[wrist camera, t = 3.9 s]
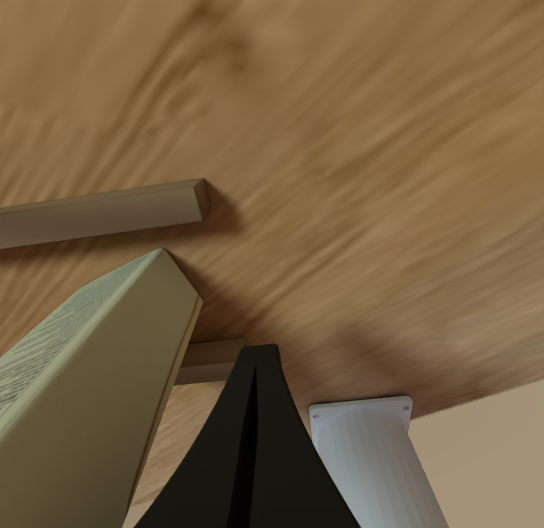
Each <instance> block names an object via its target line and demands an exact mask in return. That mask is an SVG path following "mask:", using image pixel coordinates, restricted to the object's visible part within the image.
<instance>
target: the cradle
mask: <svg viewBox="0 0 544 528" xmlns="http://www.w3.org/2000/svg"><path fill="white" fill-rule="evenodd" d="M210 208H211V207H210V203H209V199H208V195H207V191H206V187H205V183H204V179H203V178H200V179H193V180H187V181H180V182H173V183H166V184H160V185H153V186H146V187H139V188H133V189H126V190H119V191H112V192H106V193H99V194H92V195H85V196H79V197H72V198H65V199H59V200H52V201H45V202H38V203H32V204H25V205H18V206H11V207H5V208H0V249H3V248H11V247H18V246H25V245H32V244H39V243H47V242H54V241H61V240H68V239H75V238H82V237H90V236H97V235H104V234H111V233H118V232H126V231H133V230H140V229H147V228H154V227H161V226H169V225H176V224H183V223H190V222H197V221H203V219H204V217H205V216H206V214H207V213H208V211H209V210H210ZM242 347H246V345H245V341H244V338H237V339H228V340H220V341H211V342H202V343H193V344H188V346H187V349H186V351H185V354H184V357H183V360H182V363H181V366H180V368H179V371H178V374H177V377H176V380H175V382H174V385H183V384H193V383H203V382H212V381H222V380H228V378H229V376H230V373H231V371H232V369H233V366H234V364H235V362H236V359H237V357H238V354H239V351H240V349H241V348H242ZM174 385H173V386H174Z"/></svg>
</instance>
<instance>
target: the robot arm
mask: <svg viewBox="0 0 544 528" xmlns="http://www.w3.org/2000/svg"><path fill="white" fill-rule="evenodd" d="M412 406H413V401H412V399H411V398H410V397H409V396H398V397H387V398H377V399H367V400H357V401H346V402H336V403H326V404H316V405H312V406H310V407H309V416H310V424H311V433H312V440H311V438H310V436H309V434H308V432H307V430H306V428H305V426H304V424H303V422H302V419H301V417H300V415H299V413H298V410H297V408H296V406H295V403H294V401H293V398H292V396H291V393H290V390H289V388H288V385H287V382H286V379H285V376H284V373H283V370H282V365H281V359H280V353H279V347H278V345H276V344H267V345H257V346H248V347H242V348H241V349H240V351H239V354H238V357H237V359H236V362H235V364H234V366H233V369H232V371H231V373H230V376H229V378H228V380H227V382H226V384H225V386H224V388H223V390H222V392H221V394H220V396H219V398H218V400H217V402H216V404H215V406H214V408H213V410H212V412H211V413H210V415H209V417H208V419H207V421H206V422H205V424H204V426H203V428H202V430H201V431H200V433H199V435H198V436H197V438H196V440H195V441H194V443H193V445H192V446H191V448H190V449H189V451H188V452H187V454H186V456H185V457H184V459H183V460H182V462H181V463H180V465H179V466H178V468H177V469H176V471H175V472H174V474H173V475H172V476H171V478H170V479H169V481H168V482H167V484H166V485H165V487H164V488H163V489H162V491H161V492H160V494H159V495H158V496H157V498H156V499H155V500H154V502H153V503H152V505H151V506H150V507H149V509H148V510H147V511H146V512H145V514H144V515H143V516H142V518H141V519H140V520H139V521H138V523H137V524H136V525H135V527H134V528H449V527H448V524H447V522H446V520H445V518H444V516H443V513H442V511H441V509H440V506H439V504H438V502H437V500H436V497H435V495H434V493H433V491H432V488H431V486H430V484H429V482H428V479H427V477H426V475H425V472H424V470H423V468H422V466H421V463H420V461H419V459H418V457H417V454H416V452H415V450H414V447H413V445H412V443H411V441H410V438H409V436H408V429H409V423H410V417H411V412H412ZM312 441H313V442H312Z"/></svg>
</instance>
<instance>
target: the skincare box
mask: <svg viewBox="0 0 544 528" xmlns="http://www.w3.org/2000/svg"><path fill="white" fill-rule="evenodd" d="M202 304H203V300H202V298H201V297H200V296H199V294H198V293H197V292H196V290H195V289H194V287H193V286H192V285H191V283H190V282H189V281H188V279H187V278H186V277H185V275H184V274H183V273H182V271H181V270H180V269H179V267H178V266H177V265H176V263H175V262H174V261H173V259H172V258H171V257H170V255H169V254H168V253H167V252H166V250H165V249H163V248H158V249H156V250H154V251H152V252H150V253H148V254H145V255H143V256H141V257H139V258H137V259H135V260H133V261H131V262H129V263H127V264H125V265H123V266H121V267H119V268H117V269H115V270H113V271H111V272H109V273H107V274H105V275H103V276H102V277H100V278H98V279H96V280H94V281H92V282H90V283H89V284H87V285H85V286H83V287H81V288H80V289H79V290H77V291H76V292H75V293H74V294H73V295H72V296H71V297H70V298H68V299H67V300H66V301H65V302H64V303H63V304H62V305H60V306H59V307H58V308H57V309H56V310H55V311H54V312H52V313H51V314H50V315H49V316H48V317H47V318H46V319H44V320H43V321H42V322H41V323H40V324H39V325H37V326H36V327H35V328H34V329H33V330H32V331H31V332H29V333H28V334H27V335H26V336H25V337H24V338H23V339H21V340H20V341H19V342H18V343H17V344H16V345H15V346H13V347H12V348H11V349H10V350H9V351H8V352H7V353H5V354H4V355H3V356H2V357H1V358H0V528H122V526H123V524H124V521H125V518H126V516H127V513H128V510H129V507H130V504H131V502H132V499H133V496H134V493H135V491H136V488H137V485H138V482H139V479H140V477H141V474H142V471H143V469H144V466H145V463H146V460H147V457H148V454H149V451H150V449H151V446H152V443H153V441H154V438H155V435H156V433H157V429H158V426H159V424H160V421H161V419H162V416H163V413H164V410H165V407H166V404H167V401H168V399H169V396H170V393H171V391H172V388H173V385H174V382H175V380H176V377H177V374H178V371H179V368H180V366H181V363H182V360H183V357H184V354H185V351H186V349H187V346H188V343H189V340H190V338H191V335H192V332H193V329H194V326H195V324H196V321H197V318H198V316H199V312H200V310H201V307H202Z"/></svg>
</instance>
